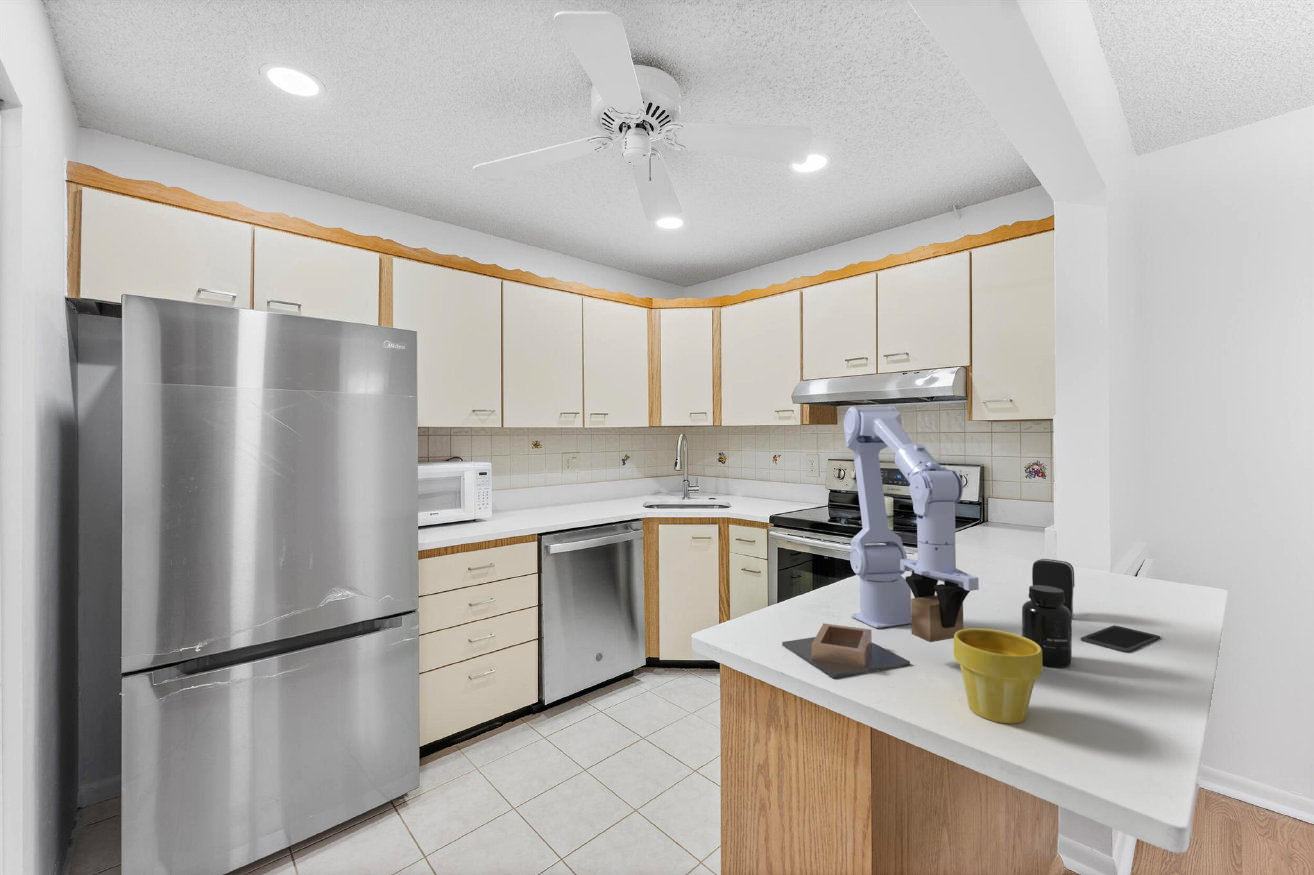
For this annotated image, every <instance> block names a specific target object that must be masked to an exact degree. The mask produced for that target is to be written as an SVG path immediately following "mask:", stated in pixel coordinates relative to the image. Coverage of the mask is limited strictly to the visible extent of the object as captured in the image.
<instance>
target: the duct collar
mask: <svg viewBox="0 0 1314 875" xmlns="http://www.w3.org/2000/svg"><path fill="white" fill-rule="evenodd" d="M872 637H873V636H872V629H868V628H862V627H861V628H860V627H853V626H847V625H837V624H830V623H822V626H820V629H819V631H818V632H817V634H816V636H813V637H806V638H805V637H804V638H799V639H793V640H786V641H782V642H781V646H783V647H784V648H786V649H788V650H789V651H790V652H792V654H795V655H796V656H798V657H800V658H801V659H802V660H804V661H805V662H807V663H808V664H810V665H811V666H813V667H814V666H815V668H816V669H817V668H818V669H817V670H819V671H820V670H821V672H822V673H823V672H824V674H825V675H827V676H828V675H829V676H828V677H829V678H831V679H833V680H834V679H838V678H839V677H840V678H845V677H846V678H847V677H850V676H849V675H851V676H857V675H861V674H867V672H868V673H872V672H878V671H877V670H879V671H882V670H883V669H884V670H888V668H890V669H894V667H895V668H899V666H901V667H904V666H905V667H906V666H910V665H911V664H910V663H911V662H910V660H908V659H906V658H904V657H902V656H900V655H898V654H896V653H894V652H893V651H891V650H888V649H886V648H884V647H882V646H880V645H878V644H876V643H875V642H873V641H872ZM856 674H857V675H856ZM840 678H839V679H840Z"/></svg>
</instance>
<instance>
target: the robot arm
mask: <svg viewBox="0 0 1314 875" xmlns="http://www.w3.org/2000/svg"><path fill="white" fill-rule="evenodd" d="M843 431H844V438H845V439H844V440H845V443H846V448H847V449H849V450H851V451H852V453H853V461H854V469H855V477H856V478H855V479H856V485H857V487H856V488H857V491H858V492H857V494H858V502H859V503H858V504H859V509H860V510H859V511H860V517H861V518H860V519H861V527H862V529H861V530H860V531H859V532H858V533H857V534H855V535H854V536H853V537H852V539H851V540H850V554H849V561H850V566H851V569H852V570H853V572H854V573H855V575H857V576H858V577H859V589H860V590H859V596H860V601H859V602H860V608H859V609H860V612H858V613H857V612H856V613H851V614H850V615H851V617H852V618H854V619H856V620H858V621H860V622H862V623H865V624H866V625H868V626H871V627H873V628H876V629H883V628H887V627H894V626H895V627H896V626H901V625H902V626H903V625H907V624H912V620H911V599H912V595H913V597H914V598H920V597H927V596H934V595H937V597H938V600H939V605H940V616H941V624H942V627H944V628H951V627H955V624H956V620H957V616H958V613H959V610H960V608H961V605H962V603H963V604H964V601H965V600H966V598H967V597H968V595H969V593H970V592H971V591H979V577H978V576H974V575H971V574H969V573H966V572H965V571H963V570H961V569H959V568H957V567H956V566H957V564H956V563H957V562H956V560H957V558H956V557H957V556H956V552H957V551H956V504H957V503H959V502H960V501H961V499H962V497H963V492H964V487H963V481H962V478H961V476H960V475H959V473H958V472H957V470H955V469H953V468H946V467H944V466H943V467H942V466H941V464H939V462H938V461H937V460H936V459H935V458H934V456H933V455H932V454H931V453H930V452H929V451H928V450H927V449H926V447H925V446H924V445H923V443H918V442H913V441H912V440H911V438H910V437H909V435H908V434H907V432H906V431H905V430H904V428H903V425H902V414H901V412H899V409H898V408H897V407H895V406H893V405H889V406H866V407H865V406H864V407H863V406H861V407H859V406H858V407H857V406H850V407H849V408H848V410H847V411H846V412H845V415H844V420H843ZM886 448H889V449H890V450H891V452H893V453H894V454H895V456H894V464H895V465H896V467H897V468H898V470H899V471H900V473H902V474H903V476H904V477H905V479H906V480H907V481H908V483H909V485H908V489H909V490H908V491H909V494H910V497H911V500H912V505H913V506H912V507H913V512H914V514H915V515H916V529H917V532H916V534H917V535H916V538H917V539H916V540H917V546H916V547H917V560H916V559H912V558H908V555H907V552H906V550H905V547H904V545H903V540H902V538H901V536H900V535H898V534H897V533H895V532H894V531H893V530H891V529H890V528H889V522H888V514H887V508H886V500H885V492H884V486H883V479H882V471H881V463H880V456H879V454H880V452H881V451H882V450H883V449H886ZM879 543H880V544H879ZM881 543H882V544H881ZM905 572H910V573H911V574H910V575H909V576H905V577H903V574H905ZM939 581H940V582H943V583H941V584H939ZM911 594H912V595H911Z"/></svg>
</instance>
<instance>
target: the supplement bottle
mask: <svg viewBox="0 0 1314 875" xmlns="http://www.w3.org/2000/svg"><path fill="white" fill-rule="evenodd" d="M1028 598H1029V599H1030V600H1027V601H1025V602H1024V603H1023V604H1022V607H1021V636H1022V637H1025V638H1028V639H1030V640H1032V641H1034V642H1035V643H1037V644H1038V645H1039V646H1040V647H1041V649H1042V666H1045V667H1050V668H1066V667H1069V666H1070V665H1071V664H1072V659H1073V658H1072V656H1073V645H1072V644H1073V643H1072V642H1073V641H1072V640H1073V639H1072V638H1073V637H1072V635H1073V632H1072V631H1073V629H1072V625H1073V624H1072V622H1073V618H1072V615H1071V612H1070V611H1069V609H1068V608H1067V607H1065V606H1064V605H1063V603H1064V591H1063V590H1061V589H1059V588H1055V587H1050V586H1042V585H1033V584H1032V585H1029V586H1028Z"/></svg>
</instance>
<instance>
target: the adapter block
mask: <svg viewBox="0 0 1314 875" xmlns="http://www.w3.org/2000/svg"><path fill="white" fill-rule="evenodd" d="M911 620H912V623H911V635H913V636H915V637H917V638H920V639H923V640H924V641H927V642H929V643H934V642H939V641H946V640H952V639H953V640H954V635H955V633H956V632H957V631H959V630H963V629H964V602H963V603H962V605H961V608H960V610H959V613H958V616H957V620H956V624H955V627H951V628H944V627H942V624H941V616H940V605H939V600H938V597H937V594H935V595H934V596H927V597H920V598H915V597H914V598H911Z"/></svg>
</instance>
